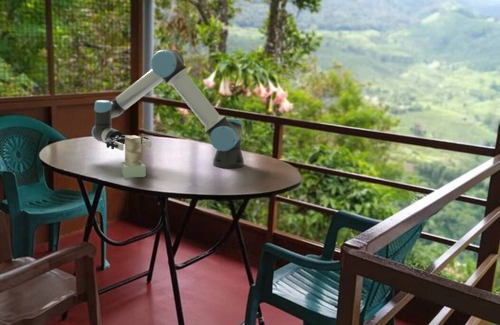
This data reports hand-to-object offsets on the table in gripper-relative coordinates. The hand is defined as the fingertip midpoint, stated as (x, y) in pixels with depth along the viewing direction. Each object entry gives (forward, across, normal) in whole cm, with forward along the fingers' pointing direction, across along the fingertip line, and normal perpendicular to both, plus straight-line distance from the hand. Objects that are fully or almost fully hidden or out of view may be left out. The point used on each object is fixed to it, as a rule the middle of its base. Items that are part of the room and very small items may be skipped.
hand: (137, 145), depth 221 cm
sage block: (-3, 0, -14) cm, 14 cm away
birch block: (-4, 0, -9) cm, 9 cm away
